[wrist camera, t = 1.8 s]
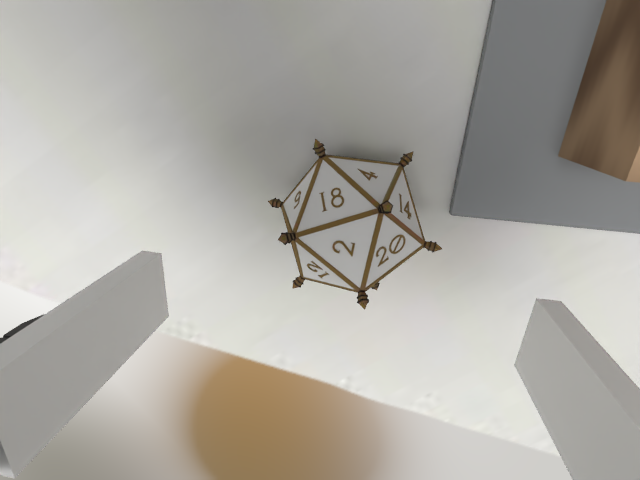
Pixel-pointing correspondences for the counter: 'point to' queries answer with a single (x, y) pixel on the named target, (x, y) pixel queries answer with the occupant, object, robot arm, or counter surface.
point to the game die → (351, 222)
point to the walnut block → (609, 98)
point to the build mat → (536, 124)
